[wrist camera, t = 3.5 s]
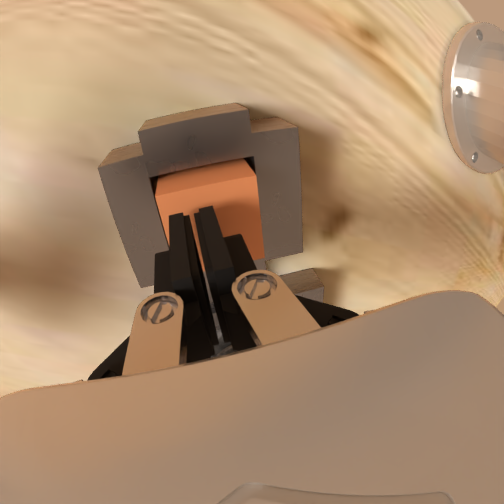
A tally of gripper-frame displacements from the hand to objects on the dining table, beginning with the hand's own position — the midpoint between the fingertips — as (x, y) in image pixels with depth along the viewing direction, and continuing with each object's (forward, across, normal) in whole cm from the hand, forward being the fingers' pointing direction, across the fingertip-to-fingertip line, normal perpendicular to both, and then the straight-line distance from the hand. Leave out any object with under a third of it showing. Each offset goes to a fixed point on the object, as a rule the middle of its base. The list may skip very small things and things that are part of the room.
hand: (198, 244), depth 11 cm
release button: (+3, -1, 0) cm, 3 cm away
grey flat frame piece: (+5, -1, +7) cm, 9 cm away
